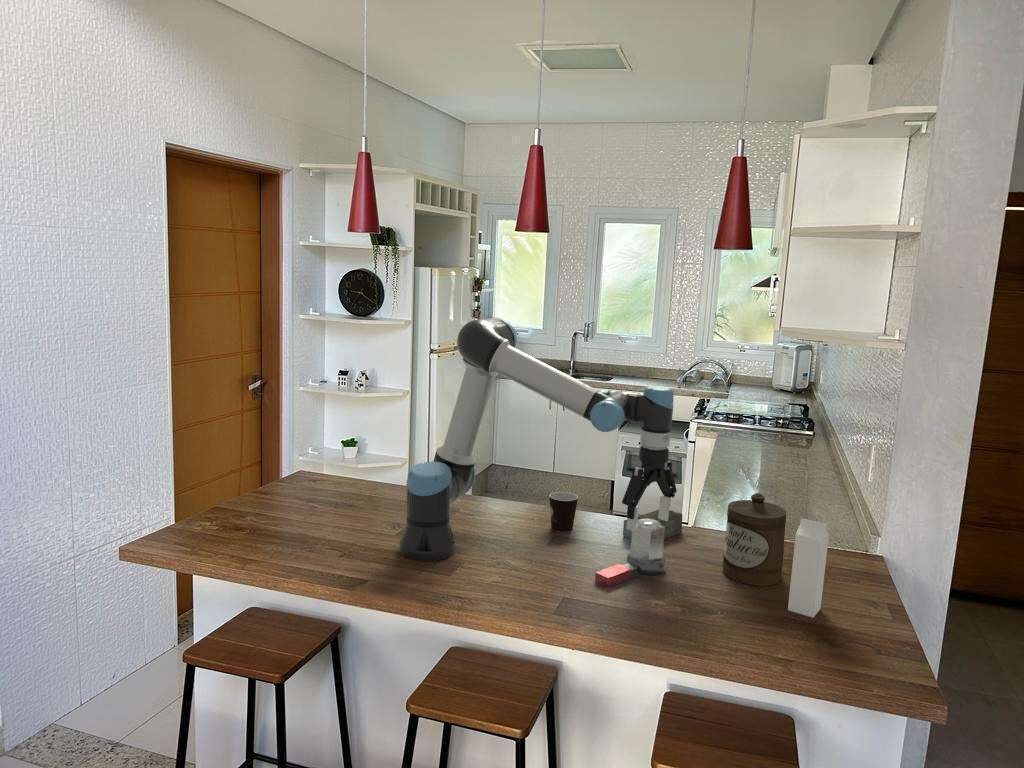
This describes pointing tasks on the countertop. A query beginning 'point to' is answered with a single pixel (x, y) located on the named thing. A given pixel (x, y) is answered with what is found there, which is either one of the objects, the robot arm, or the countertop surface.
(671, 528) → the beverage carton
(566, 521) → the coffee mug
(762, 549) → the wooden container
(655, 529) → the grey faceted jar
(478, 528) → the countertop surface
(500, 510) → the countertop surface
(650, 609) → the countertop surface
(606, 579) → the ratchet
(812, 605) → the milk
